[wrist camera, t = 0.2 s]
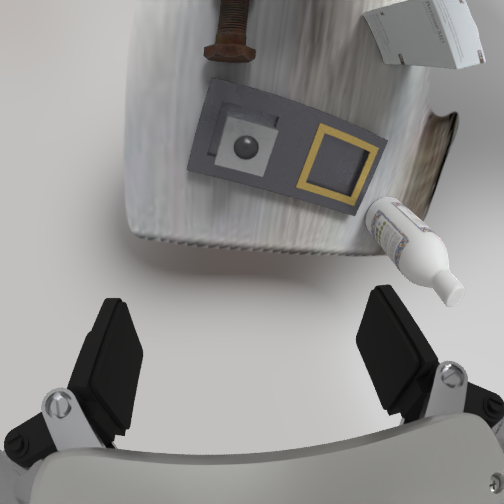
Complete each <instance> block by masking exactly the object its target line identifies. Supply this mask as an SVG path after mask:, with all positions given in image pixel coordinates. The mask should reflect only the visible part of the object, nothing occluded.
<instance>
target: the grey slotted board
mask: <svg viewBox="0 0 504 504" xmlns="http://www.w3.org/2000/svg"><path fill="white" fill-rule="evenodd" d="M228 110H229V111H233V112H237V113H241V114H244V115H248V116H251V117H255V118H258V119H262V120H265V121H268V122H269V123H270V124H272V125H273V126H274V127H275V128H276V129H277V130H278V134H277V137H276V140H275V143H274V146H273V149H272V151H271V154H270V157H269V160H268V163H267V166H266V169H265V172H264V175H263V177H261V176H257V175H254V174H250V173H246V172H242V171H238V170H235V169H231V168H227V167H223V166H218V165H214V164H215V158H216V152H217V147H218V143H219V140H220V136H221V133H222V130H223V126H224V123H225V119H226V116H227V113H228ZM386 144H387V140H385V139H383V138H381V137H379V136H377V135H375V134H373V133H371V132H369V131H367V130H365V129H362V128H360V127H358V126H356V125H353V124H351V123H349V122H347V121H344V120H342V119H340V118H337V117H335V116H332V115H330V114H327V113H325V112H322V111H320V110H317V109H314V108H312V107H309V106H306V105H304V104H301V103H298V102H295V101H292V100H289V99H286V98H283V97H280V96H277V95H274V94H271V93H268V92H265V91H261V90H258V89H254V88H251V87H247V86H244V85H240V84H236V83H232V82H228V81H224V80H220V79H216V78H212V79H211V82H210V85H209V88H208V92H207V95H206V98H205V102H204V105H203V109H202V112H201V116H200V120H199V123H198V127H197V131H196V134H195V138H194V142H193V146H192V150H191V154H190V158H189V162H188V166H187V170H188V171H192V172H197V173H201V174H205V175H210V176H214V177H218V178H222V179H226V180H230V181H234V182H238V183H242V184H246V185H250V186H254V187H258V188H261V189H265V190H269V191H272V192H276V193H280V194H283V195H287V196H290V197H294V198H297V199H301V200H304V201H308V202H311V203H314V204H318V205H321V206H324V207H327V208H331V209H334V210H337V211H340V212H343V213H346V214H350V215H353V216H355V215H356V213H357V211H358V208H359V206H360V204H361V202H362V200H363V198H364V195H365V193H366V191H367V189H368V186H369V184H370V182H371V180H372V177H373V175H374V173H375V170H376V168H377V166H378V163H379V161H380V159H381V156H382V154H383V151H384V149H385V146H386Z"/></svg>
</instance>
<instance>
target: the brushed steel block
mask: <svg viewBox="0 0 504 504" xmlns="http://www.w3.org/2000/svg"><path fill="white" fill-rule="evenodd" d="M277 134H278V130H277V129H276V128H275V127H274V126H273V125H272V124H270V123H269V122H268V121H265V120H262V119H258V118H255V117H251V116H248V115H244V114H241V113H237V112H233V111H229V110H228V113H227V116H226V119H225V123H224V126H223V130H222V133H221V136H220V140H219V143H218V147H217V152H216V158H215V164H214V165H218V166H223V167H227V168H231V169H235V170H238V171H242V172H246V173H250V174H254V175H257V176H261V177H263V175H264V172H265V169H266V166H267V163H268V160H269V157H270V154H271V151H272V149H273V146H274V143H275V140H276V137H277Z"/></svg>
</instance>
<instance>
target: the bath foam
mask: <svg viewBox="0 0 504 504" xmlns="http://www.w3.org/2000/svg"><path fill="white" fill-rule="evenodd" d="M366 227H367V229H368V231H369V232H370V233H371V235H372V236H373V237H374V238H375V240H376V241H377V242H378V243H379V245H380V246H381V247H382V248H383V250H384V251H385V252H386V254H387V255H388V256H389V257H390V259H391V260H392V261H393V263H394V264H395V265H396V266H397V268H398V269H399V271H400V272H401V273H402V274H403V275H404V276H405V277H406V278H407V279H408V280H409V281H411V282H412V283H414V284H417V285H420V286H424V287H430V288H433V289H434V290H435V291H436V293H437V294H438V295H439V297H440V298H441V299H442V301H443V302H444V304H445V305H446V306H447V307H453V306H455V305H457V304H458V303H459V302H460V301H461V300H462V298H463V297H464V294H465V288H464V287H463V285H462V284H461V283H460V282H459V281H458V280H457V279H456V277H455V276H454V275H453V274H452V273H451V272H450V270H449V258H448V253H447V250H446V247H445V245H444V243H443V242H442V240H441V239H440V238H439V236H438V235H437V234H436V233H435V232H433V231H432V230H431V229H430V228H429V227H428V226H427V225H426V224H425V223H424V222H423V221H422V220H420V219H419V218H418V217H417V216H416V215H415V214H414V213H412V212H411V211H410V210H409V209H408V208H407V207H406V206H404V205H403V204H402V203H401V202H399V201H398V200H397V199H395V198H392V197H383V198H380V199H378V200H377V201H375V202H374V203H373V204H372V205H371V206H370V208H369V210H368V212H367V214H366Z"/></svg>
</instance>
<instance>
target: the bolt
mask: <svg viewBox="0 0 504 504" xmlns="http://www.w3.org/2000/svg"><path fill="white" fill-rule="evenodd" d="M221 1H222V2H221V7H220V8H221V9H220V17H219V18H220V19H219V24H218V25H219V26H218V33H217V35H216V44H214V45H210V46H207V47H204V57H205V58H206V59H208V60H210V61H219V62H235V63H242V62H250V61H252V60H254V59H255V53H256V50H255V49H252V48H250V47H247V46H246V28H247V26H246V25H247V24H246V23H247V18H248V8H249V7H248V6H249V5H248V4H249V0H221Z"/></svg>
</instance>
